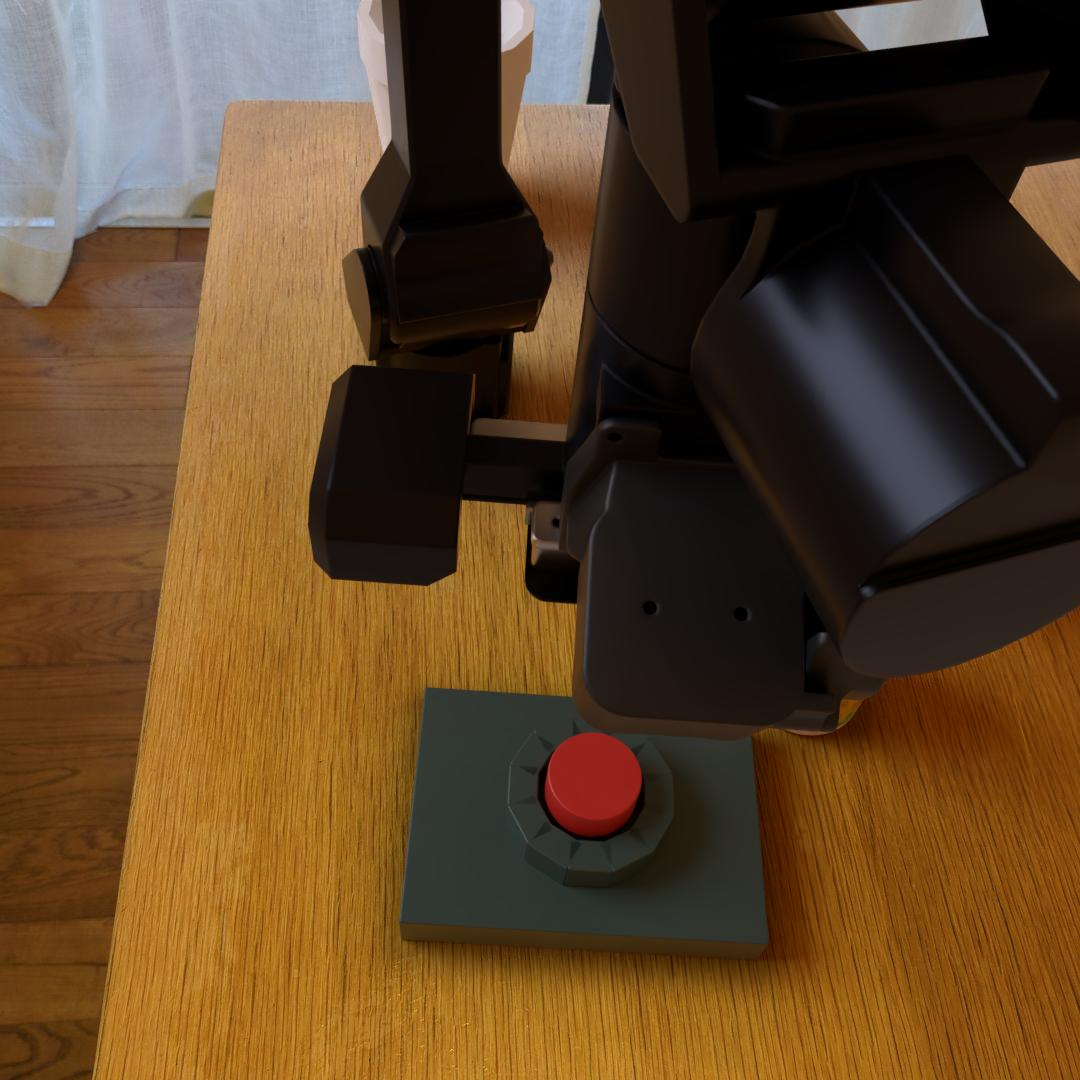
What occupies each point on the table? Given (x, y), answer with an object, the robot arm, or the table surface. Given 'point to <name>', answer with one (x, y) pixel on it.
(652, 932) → the button block
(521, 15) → the white flower pot
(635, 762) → the button
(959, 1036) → the table surface
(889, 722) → the table surface
